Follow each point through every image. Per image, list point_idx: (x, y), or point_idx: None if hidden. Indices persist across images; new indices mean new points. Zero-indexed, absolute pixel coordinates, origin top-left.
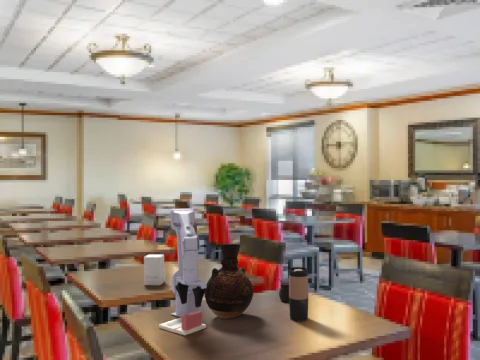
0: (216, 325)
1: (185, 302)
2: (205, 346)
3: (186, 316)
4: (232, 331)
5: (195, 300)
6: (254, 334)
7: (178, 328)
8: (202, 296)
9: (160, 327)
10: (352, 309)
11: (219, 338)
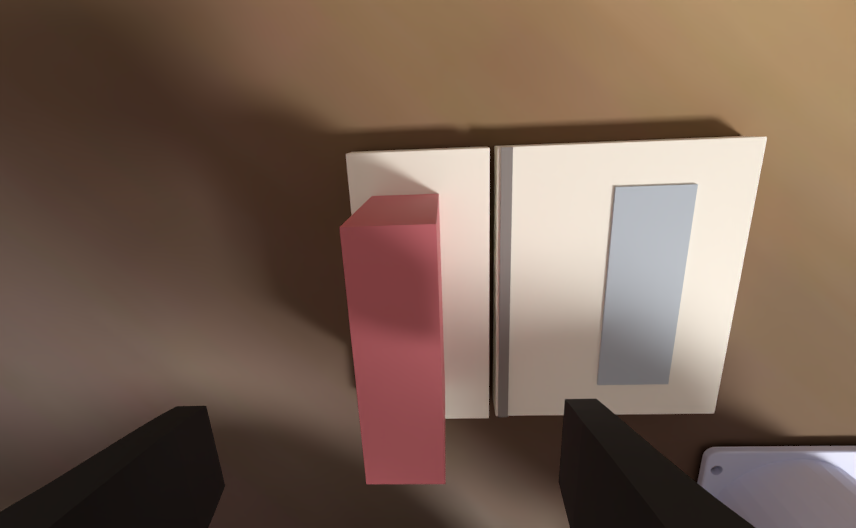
0: (363, 481)
1: (565, 475)
2: (6, 93)
3: (353, 245)
4: None
5: (59, 497)
6: None
7: (482, 186)
8: None
9: (722, 137)
10: None
11: (105, 304)
